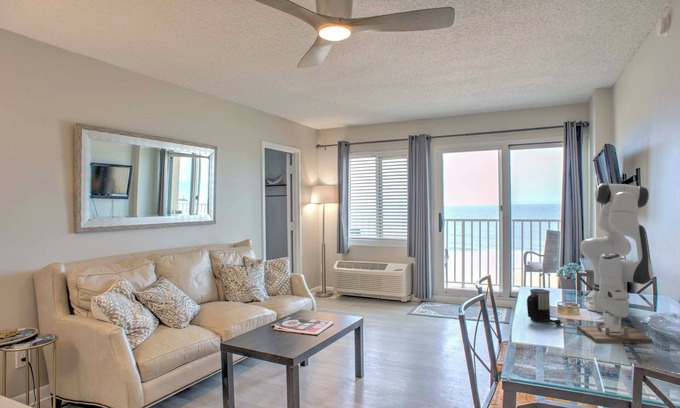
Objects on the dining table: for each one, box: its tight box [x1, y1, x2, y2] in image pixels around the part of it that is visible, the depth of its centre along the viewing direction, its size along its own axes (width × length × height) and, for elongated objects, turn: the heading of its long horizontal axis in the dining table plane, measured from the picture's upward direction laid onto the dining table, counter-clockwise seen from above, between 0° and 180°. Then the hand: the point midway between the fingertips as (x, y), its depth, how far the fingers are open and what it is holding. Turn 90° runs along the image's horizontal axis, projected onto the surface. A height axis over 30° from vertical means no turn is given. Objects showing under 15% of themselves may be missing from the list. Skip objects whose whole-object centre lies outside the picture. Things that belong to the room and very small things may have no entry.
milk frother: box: [526, 288, 564, 326], centre depth 205 cm, size 14×16×15 cm
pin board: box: [576, 321, 653, 344], centre depth 182 cm, size 18×22×5 cm
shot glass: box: [602, 312, 622, 332], centre depth 182 cm, size 7×7×7 cm
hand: (612, 322), depth 182 cm, fingers closed on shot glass, 5 cm apart
